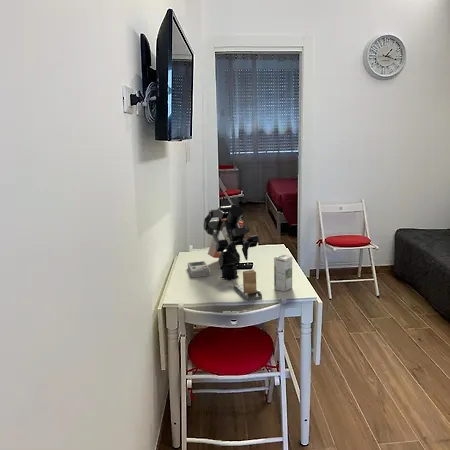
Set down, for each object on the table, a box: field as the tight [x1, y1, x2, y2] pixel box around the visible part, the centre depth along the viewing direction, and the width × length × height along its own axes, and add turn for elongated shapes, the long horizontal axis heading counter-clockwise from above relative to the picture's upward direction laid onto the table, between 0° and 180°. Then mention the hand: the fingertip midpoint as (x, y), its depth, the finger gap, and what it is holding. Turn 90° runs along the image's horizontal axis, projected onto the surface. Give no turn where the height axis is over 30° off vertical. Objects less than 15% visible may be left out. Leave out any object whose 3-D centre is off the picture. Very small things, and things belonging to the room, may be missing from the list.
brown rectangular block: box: [242, 269, 258, 294], centre depth 181 cm, size 3×5×9 cm, turn 109°
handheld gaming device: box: [187, 260, 210, 278], centre depth 215 cm, size 9×15×4 cm, turn 13°
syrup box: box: [273, 253, 293, 292], centre depth 187 cm, size 6×6×14 cm
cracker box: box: [207, 217, 245, 259], centre depth 230 cm, size 14×6×21 cm, turn 133°
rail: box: [233, 283, 263, 302], centre depth 185 cm, size 16×6×3 cm, turn 20°
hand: (243, 260), depth 185 cm, fingers open, 3 cm apart
